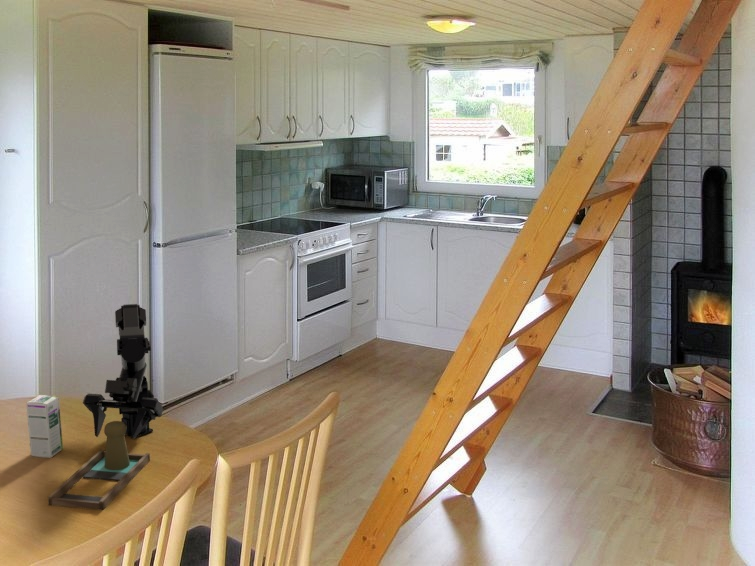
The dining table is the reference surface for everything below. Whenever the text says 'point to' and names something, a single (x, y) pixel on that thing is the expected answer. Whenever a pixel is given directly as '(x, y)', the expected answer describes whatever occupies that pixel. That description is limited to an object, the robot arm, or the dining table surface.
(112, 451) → the cork
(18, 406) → the dining table surface
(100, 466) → the pad
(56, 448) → the syrup box
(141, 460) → the channel
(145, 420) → the robot arm
